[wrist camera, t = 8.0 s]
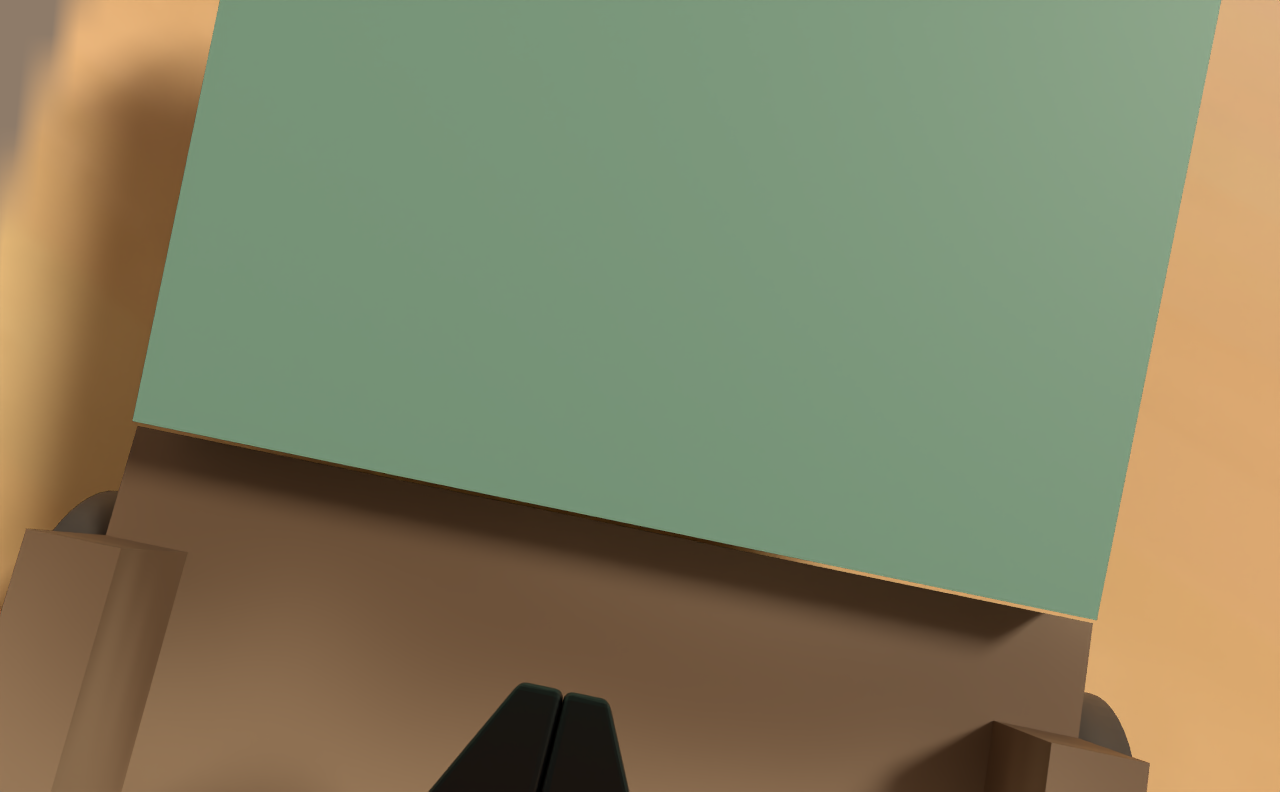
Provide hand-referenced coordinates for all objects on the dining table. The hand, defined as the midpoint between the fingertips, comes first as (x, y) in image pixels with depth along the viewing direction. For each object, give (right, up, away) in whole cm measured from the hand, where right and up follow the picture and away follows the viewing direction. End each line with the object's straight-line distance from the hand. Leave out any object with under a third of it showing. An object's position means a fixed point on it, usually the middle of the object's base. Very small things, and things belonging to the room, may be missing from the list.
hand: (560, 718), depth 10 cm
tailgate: (0, +1, +5) cm, 6 cm away
